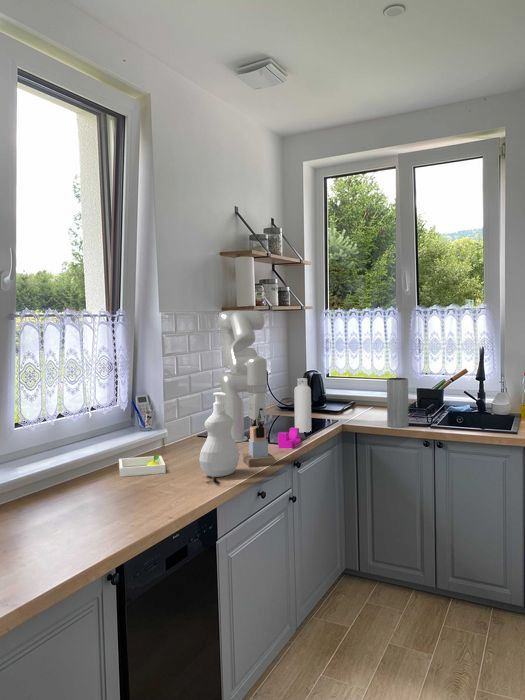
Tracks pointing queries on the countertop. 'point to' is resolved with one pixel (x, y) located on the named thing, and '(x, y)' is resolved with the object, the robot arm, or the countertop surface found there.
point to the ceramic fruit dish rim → (140, 469)
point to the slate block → (258, 448)
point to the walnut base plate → (258, 460)
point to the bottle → (302, 406)
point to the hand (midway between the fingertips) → (258, 435)
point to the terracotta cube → (253, 434)
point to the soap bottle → (219, 443)
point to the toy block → (289, 438)
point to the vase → (397, 403)
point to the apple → (153, 461)
